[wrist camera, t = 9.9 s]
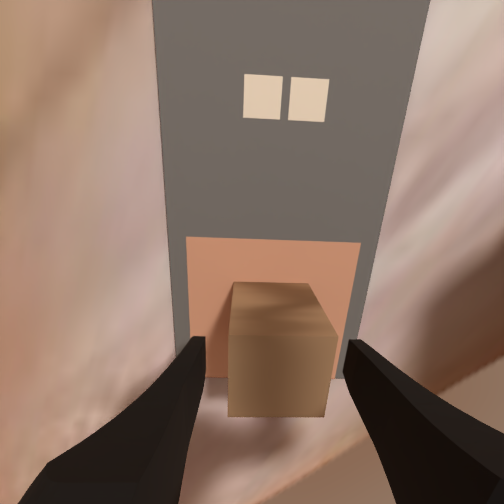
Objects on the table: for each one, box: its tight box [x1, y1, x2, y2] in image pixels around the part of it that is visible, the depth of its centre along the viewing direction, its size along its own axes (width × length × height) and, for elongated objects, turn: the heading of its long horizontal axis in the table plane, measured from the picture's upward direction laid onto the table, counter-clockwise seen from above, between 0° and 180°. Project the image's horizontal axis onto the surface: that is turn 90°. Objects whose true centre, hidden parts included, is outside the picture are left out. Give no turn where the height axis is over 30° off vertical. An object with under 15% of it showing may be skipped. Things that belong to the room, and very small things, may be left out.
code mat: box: [152, 0, 430, 379], centre depth 14 cm, size 12×22×1 cm, turn 177°
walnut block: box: [228, 282, 339, 417], centre depth 13 cm, size 4×4×5 cm
